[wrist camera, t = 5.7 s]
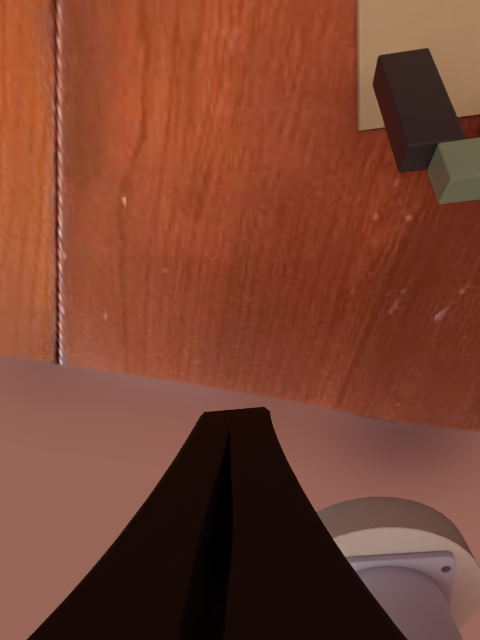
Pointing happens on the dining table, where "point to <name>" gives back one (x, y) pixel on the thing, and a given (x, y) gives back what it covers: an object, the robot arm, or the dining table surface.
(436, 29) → the mat
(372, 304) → the dining table surface
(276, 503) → the robot arm
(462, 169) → the tray
